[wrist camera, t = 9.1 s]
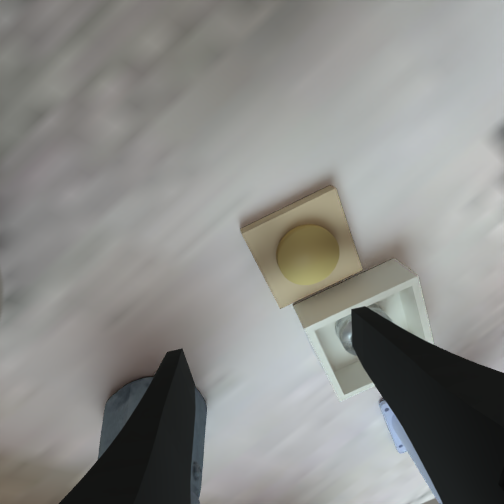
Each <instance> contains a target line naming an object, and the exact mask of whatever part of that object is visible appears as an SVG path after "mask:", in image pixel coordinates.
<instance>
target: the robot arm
mask: <svg viewBox="0 0 504 504" xmlns="http://www.w3.org/2000/svg"><path fill="white" fill-rule="evenodd" d="M351 321H352V347H353V349H354V351H355V353H356V355H357V357H358V359H359V361H360V362H361V364H362V366H363V368H364V370H365V371H366V373H367V374H368V376H369V377H370V379H371V380H372V382H373V383H374V385H375V386H376V388H377V389H378V391H379V392H380V394H381V395H382V397H383V398H384V401H382V402H381V403H380V405H379V406H380V408H381V411H382V413H383V416H384V418H385V421H386V424H387V426H388V429H389V431H390V434H391V436H392V439H393V441H394V444H395V446H396V449H397V451H398V452H399V453H404V452H408V453H409V455H410V457H411V458H412V460H413V461H414V463H415V465H416V466H417V468H418V470H419V471H420V473H421V475H422V476H423V478H424V480H425V481H426V483H427V484H428V486H429V488H430V489H431V491H432V493H433V494H434V496H435V498H436V499H437V501H438V502H439V504H504V373H502V372H499V371H496V370H494V369H491V368H488V367H485V366H482V365H480V364H477V363H474V362H472V361H469V360H467V359H464V358H462V357H460V356H457V355H455V354H453V353H450V352H448V351H446V350H444V349H441V348H439V347H437V346H435V345H433V344H431V343H429V342H427V341H425V340H423V339H421V338H419V337H417V336H416V335H414V334H412V333H410V332H408V331H406V330H405V329H403V328H401V327H399V326H398V325H396V324H394V323H393V322H391V321H389V320H388V319H386V318H384V317H383V316H381V315H379V314H378V313H376V312H374V311H373V310H371V309H369V308H367V307H366V306H363V307H359V308H354V309H351ZM195 412H196V403H195V384H194V381H193V378H192V375H191V372H190V369H189V366H188V363H187V361H186V358H185V355H184V352H183V349H178V350H174V351H169V352H167V353H166V355H165V357H164V359H163V361H162V363H161V364H160V366H159V368H158V370H157V372H156V374H155V376H154V378H153V379H152V381H151V383H150V385H149V386H148V388H147V390H146V392H145V393H144V395H143V397H142V399H141V400H140V402H139V403H138V405H137V407H136V408H135V410H134V411H133V413H132V414H131V416H130V417H129V419H128V421H127V422H126V423H125V425H124V426H123V428H122V429H121V431H120V432H119V433H118V435H117V436H116V438H115V439H114V440H113V442H112V443H111V444H110V446H109V447H108V448H107V449H106V451H105V452H104V453H103V454H102V456H101V457H100V458H99V459H98V460H97V462H96V463H95V464H94V465H93V466H92V468H91V469H90V470H89V471H88V472H87V474H86V475H85V476H84V477H83V478H82V479H81V480H80V482H79V483H78V484H77V485H76V486H75V487H74V488H73V489H72V490H71V491H70V492H69V493H68V495H67V496H66V497H65V498H64V499H63V500H62V501H61V502H60V503H59V504H191V485H190V482H191V463H192V451H193V438H194V425H195Z"/></svg>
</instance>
